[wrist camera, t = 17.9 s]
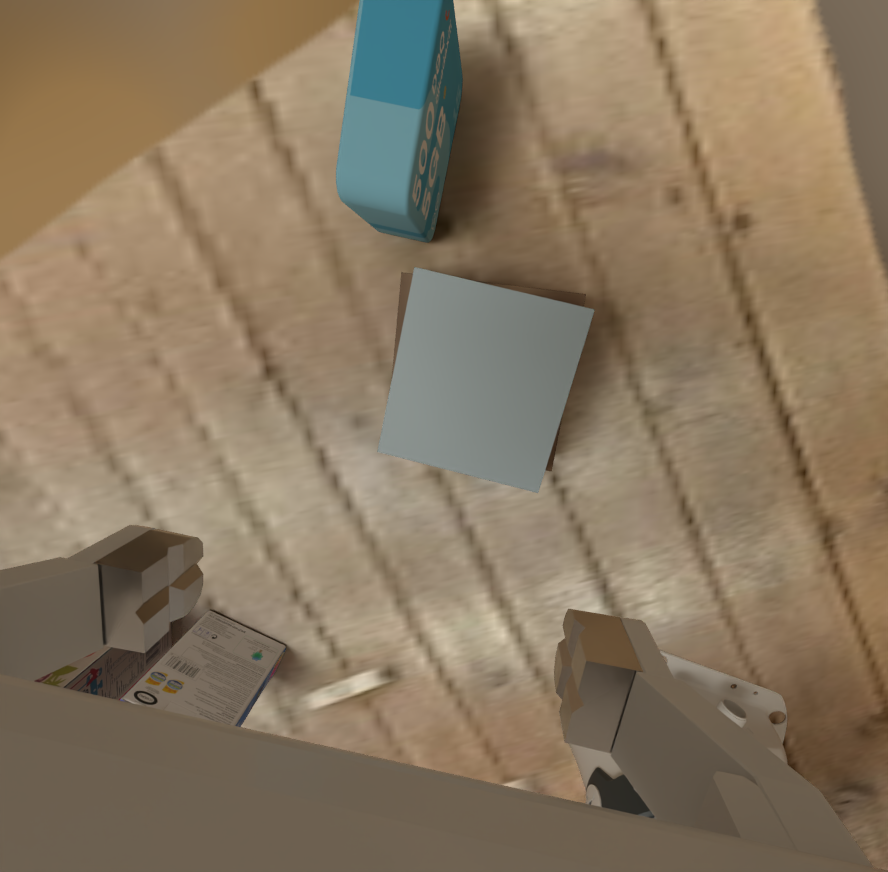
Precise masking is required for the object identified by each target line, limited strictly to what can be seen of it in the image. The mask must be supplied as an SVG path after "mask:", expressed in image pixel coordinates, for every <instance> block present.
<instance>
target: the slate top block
mask: <svg viewBox="0 0 888 872" xmlns="http://www.w3.org/2000/svg"><path fill="white" fill-rule="evenodd" d="M594 311H595V310H594V309H590V308H586V307H582V306H578V305H573V304H569V303H565V302H561V301H556V300H552V299H548V298H544V297H539V296H535V295H531V294H527V293H522V292H518V291H514V290H510V289H505V288H501V287H497V286H493V285H488V284H484V283H480V282H476V281H472V280H467V279H463V278H459V277H455V276H450V275H446V274H442V273H438V272H433V271H429V270H425V269H421V268H416V267H414V272H413V277H412V282H411V287H410V292H409V297H408V302H407V307H406V312H405V317H404V322H403V327H402V332H401V337H400V342H399V347H398V352H397V357H396V362H395V367H394V372H393V377H392V382H391V387H390V392H389V397H388V402H387V407H386V412H385V417H384V422H383V427H382V432H381V437H380V441H379V446H378V451H377V452H380V453H384V454H388V455H392V456H396V457H399V458H403V459H407V460H411V461H415V462H419V463H423V464H427V465H431V466H435V467H439V468H442V469H446V470H450V471H454V472H458V473H462V474H466V475H470V476H474V477H478V478H482V479H486V480H489V481H493V482H497V483H501V484H505V485H509V486H513V487H517V488H521V489H525V490H529V491H532V492H536V493H538V492H539V488H540V485H541V482H542V479H543V476H544V472H545V469H546V466H547V463H548V459H549V456H550V453H551V450H552V446H553V443H554V440H555V437H556V434H557V430H558V427H559V424H560V421H561V417H562V414H563V411H564V408H565V404H566V401H567V398H568V395H569V391H570V388H571V385H572V382H573V379H574V375H575V372H576V369H577V366H578V362H579V359H580V356H581V353H582V349H583V346H584V343H585V340H586V337H587V333H588V330H589V327H590V324H591V320H592V317H593V314H594Z"/></svg>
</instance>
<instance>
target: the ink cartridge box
mask: <svg viewBox="0 0 888 872" xmlns="http://www.w3.org/2000/svg"><path fill="white" fill-rule="evenodd" d="M285 650H286V646H285V645H283V644H281V643H279V642H276V641H274V640H272V639H270V638H268V637H266V636H264V635H261V634H259V633H257V632H255V631H253V630H251V629H248V628H246V627H244V626H242V625H240V624H238V623H236V622H234V621H232V620H230V619H227V618H225V617H223V616H221V615H219V614H217V613H215V612H213V611H210V610H209V611H207V612H206V613H205V614H204V615H203V616H202V617H201V618H200V619H199V620H198V621H197V622H196V623H195V624H194V626H193V627H192V628H191V629H190V630H189V631H188V632H187V633H186V634H185V635H184V636H183V637H182V638H181V639H180V640H179V641H178V642H177V643H176V644H175V645H174V646H173V647H172V648H171V649H170V650H169V651H168V652H167V653H166V654H165V655H164V656H163V657H162V658H161V659H160V660H159V661H158V662H157V663H156V664H155V665H154V666H153V667H152V668H151V669H150V670H149V671H148V672H147V673H146V674H145V675H144V676H143V677H142V678H141V679H140V680H139V681H138V682H137V683H136V684H135V685H134V686H133V687H132V688H131V689H130V690H129V691H128V692H127V693H126V694H125V695H124V696H123V697H122V698H121V699H120V701H125V702H129V703H134V704H138V705H143V706H147V707H152V708H156V709H161V710H165V711H170V712H174V713H179V714H183V715H188V716H192V717H197V718H201V719H206V720H210V721H215V722H219V723H224V724H228V725H233V726H237V727H241V725H242V724H243V722H244V720H245V719H246V717H247V715H248V714H249V712H250V710H251V709H252V707H253V706H254V704H255V702H256V701H257V699H258V698H259V696H260V694H261V693H262V691H263V690H264V688H265V686H266V685H267V683H268V682H269V680H270V679H271V678H272V676H273V675H274V673H275V671H276V669H277V667H278V665H279V663H280V661H281V659H282V657H283V654H284V652H285Z"/></svg>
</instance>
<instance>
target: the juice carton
mask: <svg viewBox="0 0 888 872" xmlns="http://www.w3.org/2000/svg"><path fill="white" fill-rule="evenodd" d="M171 647H172V622H170V624H169V631H168V632H167V633H166V634H165V635H164V636H163V637H162V638H161V639H160V640H158V641H157V642H156V643H155V644H154V645H153V646H152V647H151V648H150V649H149V650H148V651H147V652H145V653H141V652H135V651H130V650H124V649H119V648H113V647H108V646H104V648H103V649H100V650H98V651H96V652H94V653H92V654H90V655H88V656H86V657H83V658H81V659H79V660H77V661H75V662H73V663H71V664H69V665H67V666H64V667H62V668H60V669H58V670H56V671H54V672H52V673H50V674H48V675H45V676H43V677H41V678H39V679H37V680H35V682H39V683H44V684H48V685H53V686H57V687H62V688H66V689H71V690H75V691H80V692H84V693H89V694H93V695H98V696H102V697H107V698H111V699H116V700H119V699H120V698H121V697H122V696H123V695H124V694H125V693H126V692H127V691H128V690H129V689H130V688H131V687H132V686H133V685H134V684H135V683H136V682H137V681H138V680H139V679H140V678H141V677H142V676H143V675H144V674H145V673H146V672H147V671H148V670H149V669H150V668H151V667H152V666H153V665H154V664H155V663H156V662H157V661H158V660H159V659H160V658H161V657H162V656H163V655H164V654H165V653H166V652H167V651H168V650H169V649H170V648H171Z"/></svg>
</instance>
